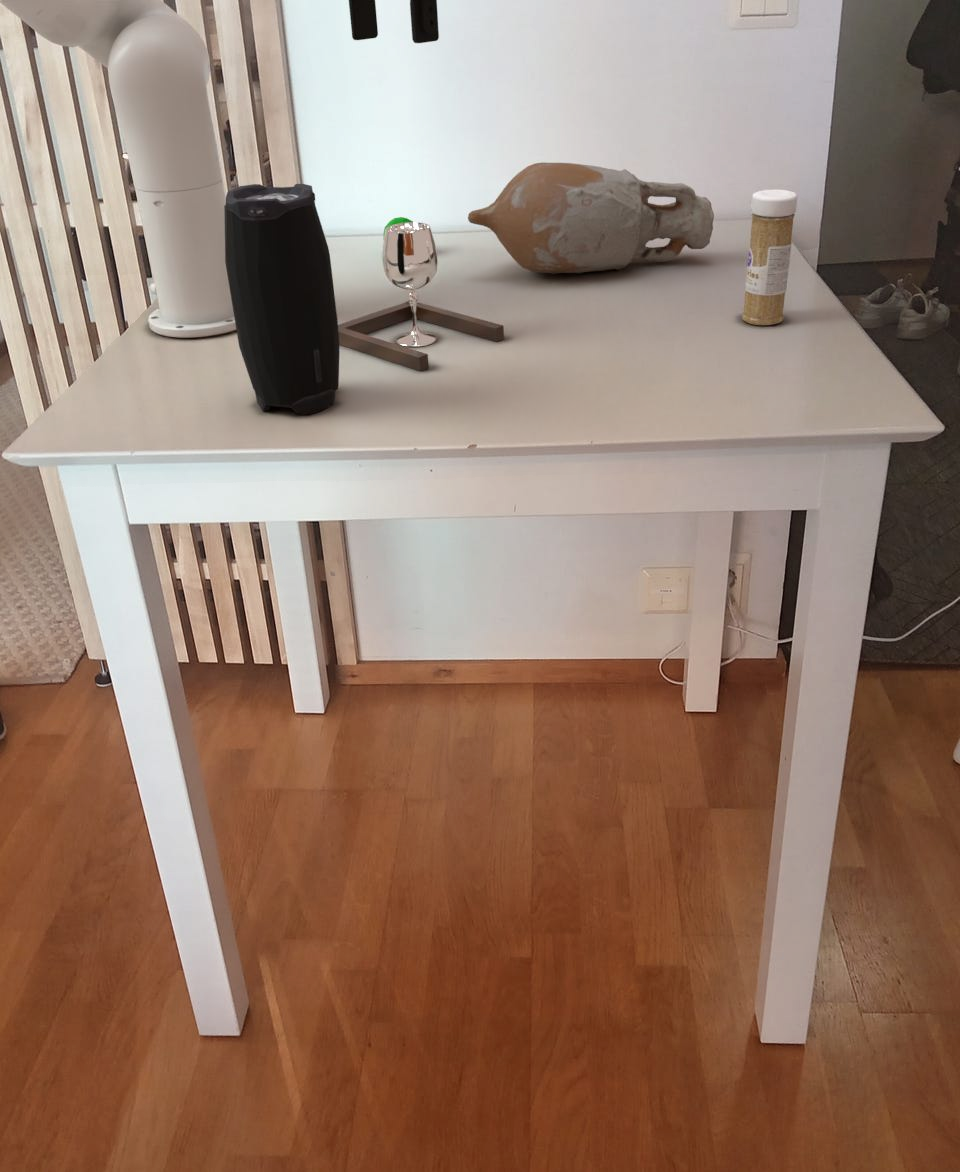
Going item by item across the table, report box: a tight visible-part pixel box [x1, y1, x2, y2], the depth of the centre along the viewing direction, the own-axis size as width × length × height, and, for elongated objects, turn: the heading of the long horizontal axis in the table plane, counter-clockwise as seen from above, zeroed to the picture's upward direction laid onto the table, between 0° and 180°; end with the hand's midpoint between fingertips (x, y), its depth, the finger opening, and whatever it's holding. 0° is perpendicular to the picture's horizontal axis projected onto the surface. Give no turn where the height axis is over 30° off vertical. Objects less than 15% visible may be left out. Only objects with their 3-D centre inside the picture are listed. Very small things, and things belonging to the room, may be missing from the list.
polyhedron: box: [383, 216, 414, 236], centre depth 147 cm, size 5×5×5 cm
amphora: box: [467, 162, 715, 275], centre depth 134 cm, size 14×16×30 cm
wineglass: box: [382, 221, 439, 348], centre depth 114 cm, size 6×6×12 cm
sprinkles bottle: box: [741, 189, 798, 326], centre depth 114 cm, size 5×5×14 cm
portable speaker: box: [224, 183, 341, 416], centre depth 98 cm, size 9×9×20 cm
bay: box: [338, 300, 505, 372], centre depth 117 cm, size 15×12×2 cm
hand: (394, 40), depth 114 cm, fingers open, 9 cm apart
